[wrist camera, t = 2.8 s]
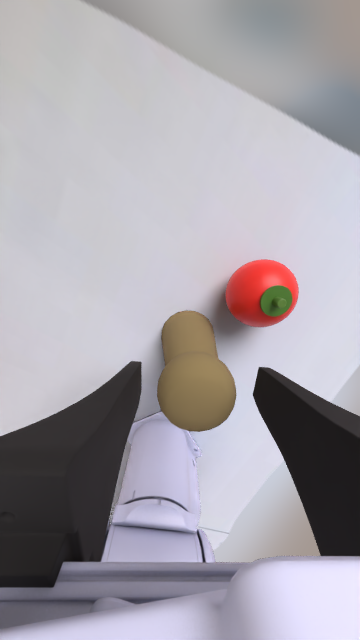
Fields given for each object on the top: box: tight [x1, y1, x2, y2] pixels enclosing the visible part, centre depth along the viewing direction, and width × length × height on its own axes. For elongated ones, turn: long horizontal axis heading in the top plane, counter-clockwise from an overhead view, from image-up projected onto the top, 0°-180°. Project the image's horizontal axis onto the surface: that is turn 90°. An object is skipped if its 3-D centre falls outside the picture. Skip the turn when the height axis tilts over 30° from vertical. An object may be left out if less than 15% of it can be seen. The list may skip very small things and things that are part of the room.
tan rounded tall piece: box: [157, 311, 236, 432], centre depth 16 cm, size 6×6×11 cm
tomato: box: [226, 260, 299, 327], centre depth 17 cm, size 6×6×7 cm
